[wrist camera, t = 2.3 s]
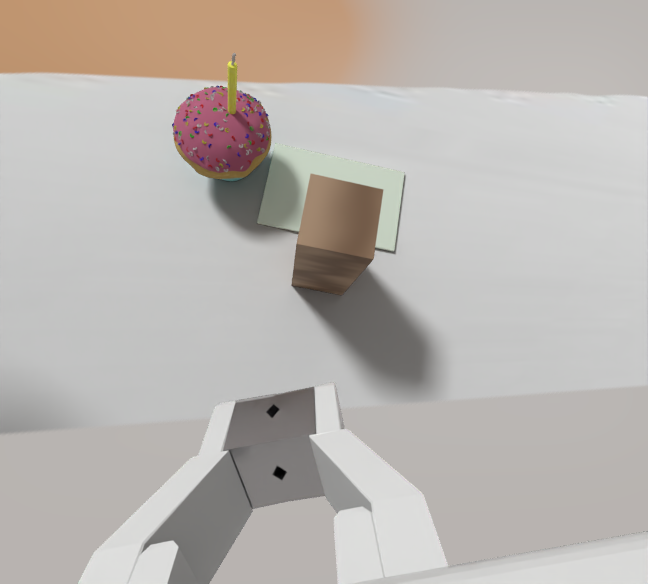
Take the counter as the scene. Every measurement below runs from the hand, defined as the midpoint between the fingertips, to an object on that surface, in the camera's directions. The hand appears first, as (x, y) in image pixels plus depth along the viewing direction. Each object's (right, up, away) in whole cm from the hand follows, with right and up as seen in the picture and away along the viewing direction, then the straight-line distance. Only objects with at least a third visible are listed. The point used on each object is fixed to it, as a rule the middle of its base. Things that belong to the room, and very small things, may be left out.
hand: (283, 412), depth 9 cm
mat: (+2, +13, +27) cm, 30 cm away
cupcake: (-9, +16, +27) cm, 32 cm away
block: (+1, +6, +25) cm, 26 cm away
